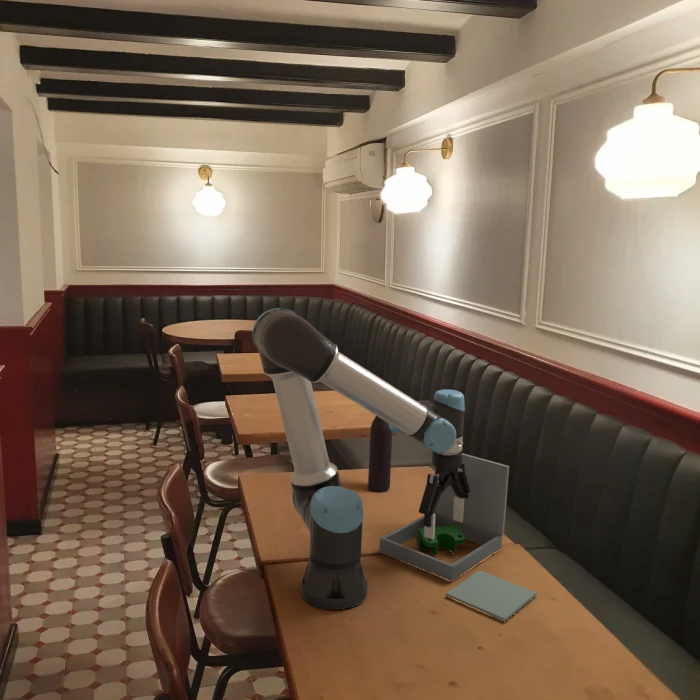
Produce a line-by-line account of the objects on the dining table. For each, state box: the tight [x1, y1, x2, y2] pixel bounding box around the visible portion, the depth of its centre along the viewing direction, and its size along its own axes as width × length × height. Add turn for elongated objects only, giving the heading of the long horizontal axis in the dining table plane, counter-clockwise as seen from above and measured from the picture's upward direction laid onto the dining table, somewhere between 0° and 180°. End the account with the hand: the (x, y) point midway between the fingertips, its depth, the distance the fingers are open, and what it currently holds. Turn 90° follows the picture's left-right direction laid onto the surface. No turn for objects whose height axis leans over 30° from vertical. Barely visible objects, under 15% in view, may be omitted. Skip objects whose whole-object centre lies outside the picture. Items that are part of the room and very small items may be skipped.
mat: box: [445, 570, 537, 621], centre depth 158 cm, size 15×15×1 cm
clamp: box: [415, 525, 466, 556], centre depth 179 cm, size 12×6×9 cm, turn 100°
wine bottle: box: [367, 415, 393, 493], centre depth 219 cm, size 7×7×30 cm
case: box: [378, 452, 510, 581], centre depth 178 cm, size 25×22×23 cm
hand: (444, 529), depth 179 cm, fingers open, 13 cm apart
